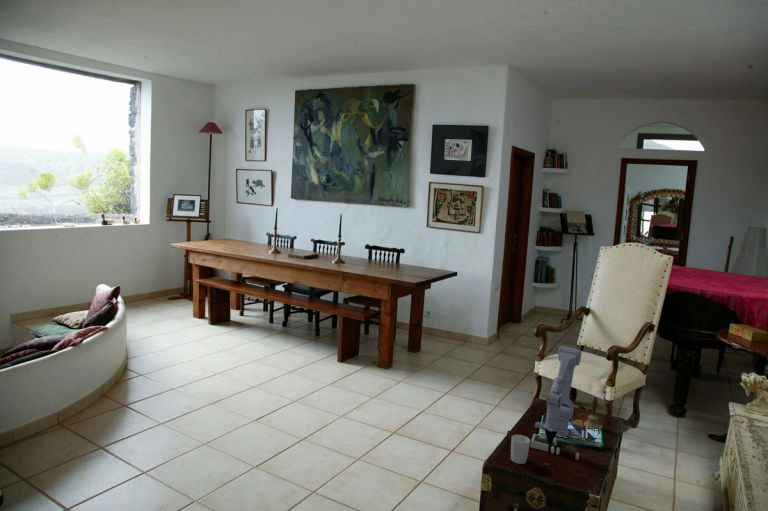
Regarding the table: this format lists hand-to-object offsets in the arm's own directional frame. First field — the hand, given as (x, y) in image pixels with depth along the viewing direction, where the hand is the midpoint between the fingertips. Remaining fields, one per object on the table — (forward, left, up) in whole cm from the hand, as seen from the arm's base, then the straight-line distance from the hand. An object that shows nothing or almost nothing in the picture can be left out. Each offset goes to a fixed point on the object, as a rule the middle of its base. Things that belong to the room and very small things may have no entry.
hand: (549, 444), depth 245 cm
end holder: (0, -4, -1) cm, 4 cm away
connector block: (0, -3, -1) cm, 4 cm away
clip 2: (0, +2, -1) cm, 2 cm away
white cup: (+19, -11, -2) cm, 22 cm away
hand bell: (-35, +16, -2) cm, 39 cm away
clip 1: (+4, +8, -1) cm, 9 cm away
